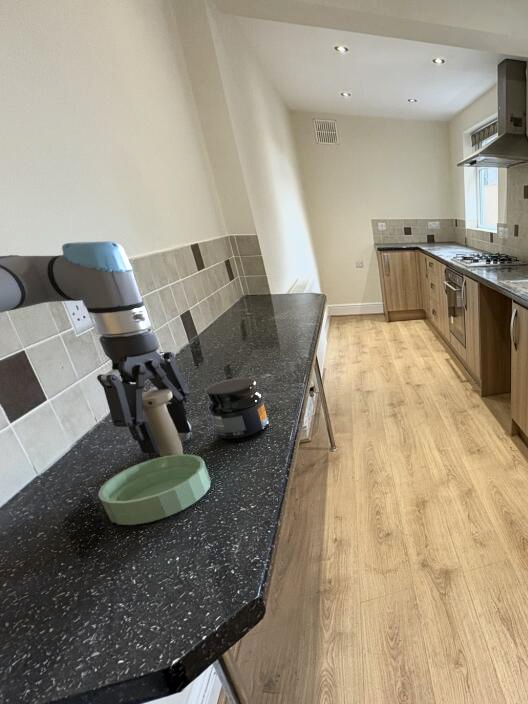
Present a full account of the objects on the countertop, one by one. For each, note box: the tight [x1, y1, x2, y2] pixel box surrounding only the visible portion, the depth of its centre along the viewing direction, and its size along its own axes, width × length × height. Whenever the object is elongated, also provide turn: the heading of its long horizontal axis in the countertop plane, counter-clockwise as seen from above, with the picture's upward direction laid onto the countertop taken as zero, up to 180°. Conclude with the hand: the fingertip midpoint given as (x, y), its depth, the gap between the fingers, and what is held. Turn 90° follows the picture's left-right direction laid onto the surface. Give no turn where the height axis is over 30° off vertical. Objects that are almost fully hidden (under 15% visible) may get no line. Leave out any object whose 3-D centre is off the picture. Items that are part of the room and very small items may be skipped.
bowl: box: [97, 453, 212, 526], centre depth 72 cm, size 14×14×5 cm
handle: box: [142, 389, 185, 457], centre depth 82 cm, size 5×6×15 cm
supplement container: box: [204, 377, 270, 444], centre depth 93 cm, size 10×10×12 cm
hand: (167, 441), depth 83 cm, fingers open, 7 cm apart
